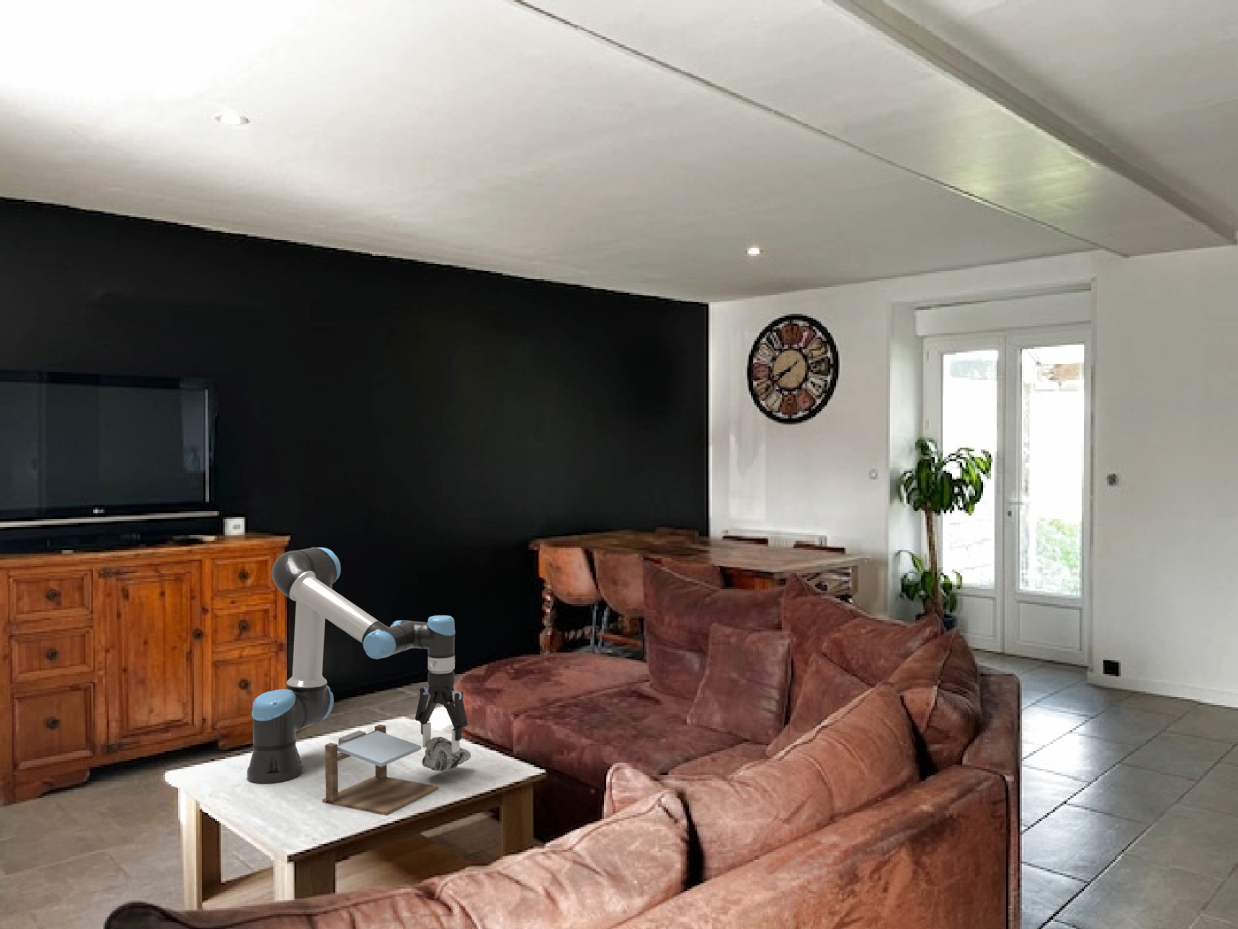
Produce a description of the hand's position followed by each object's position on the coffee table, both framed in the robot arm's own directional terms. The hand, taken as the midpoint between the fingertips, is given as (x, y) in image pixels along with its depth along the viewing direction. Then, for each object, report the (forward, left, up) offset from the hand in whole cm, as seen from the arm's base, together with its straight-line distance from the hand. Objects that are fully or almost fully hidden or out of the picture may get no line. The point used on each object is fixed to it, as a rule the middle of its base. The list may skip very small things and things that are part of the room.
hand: (441, 748), depth 266 cm
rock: (0, +2, -5) cm, 5 cm away
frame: (-5, -19, -8) cm, 21 cm away
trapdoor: (-8, -19, +4) cm, 21 cm away
